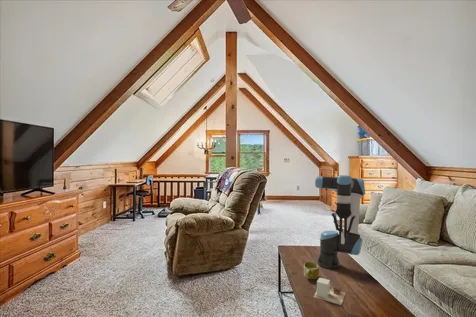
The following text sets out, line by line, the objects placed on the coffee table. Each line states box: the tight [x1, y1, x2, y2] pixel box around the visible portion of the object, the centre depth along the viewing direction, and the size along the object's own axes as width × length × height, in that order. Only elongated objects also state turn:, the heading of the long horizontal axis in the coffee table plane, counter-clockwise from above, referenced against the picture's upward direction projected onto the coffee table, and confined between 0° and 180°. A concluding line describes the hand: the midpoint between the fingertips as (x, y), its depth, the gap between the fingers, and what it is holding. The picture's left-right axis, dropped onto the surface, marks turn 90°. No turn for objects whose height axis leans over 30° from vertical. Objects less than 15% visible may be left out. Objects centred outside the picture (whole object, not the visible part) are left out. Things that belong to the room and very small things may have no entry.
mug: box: [303, 261, 320, 280], centre depth 162 cm, size 12×10×10 cm
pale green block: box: [316, 277, 331, 299], centre depth 140 cm, size 6×6×8 cm
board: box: [313, 285, 346, 306], centre depth 140 cm, size 14×14×4 cm
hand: (342, 243), depth 149 cm, fingers closed
